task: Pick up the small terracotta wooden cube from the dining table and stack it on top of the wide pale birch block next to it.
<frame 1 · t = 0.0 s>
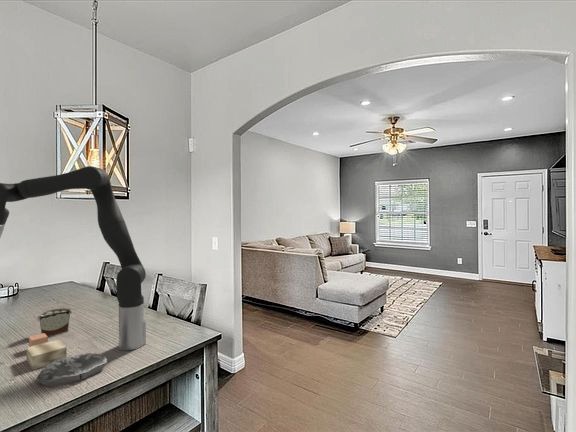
birch block: (46, 360, 116), on the table
food container: (53, 333, 140), on the table
terracotta cube: (38, 349, 124), on the table
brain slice: (72, 374, 108), on the table
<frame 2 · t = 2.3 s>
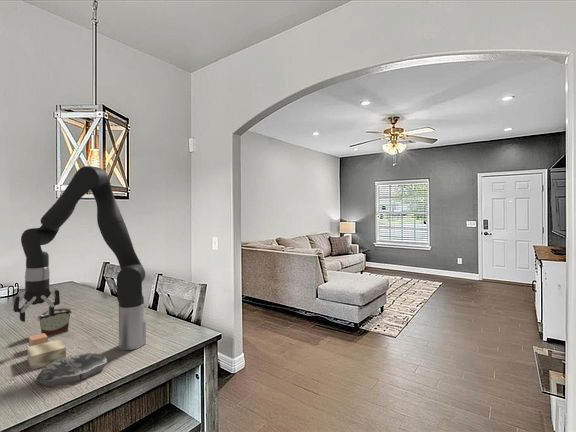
hand: (37, 318, 124), 12 cm above the table, tool pointing down, fingers open, 8 cm apart
nothing on the table moved.
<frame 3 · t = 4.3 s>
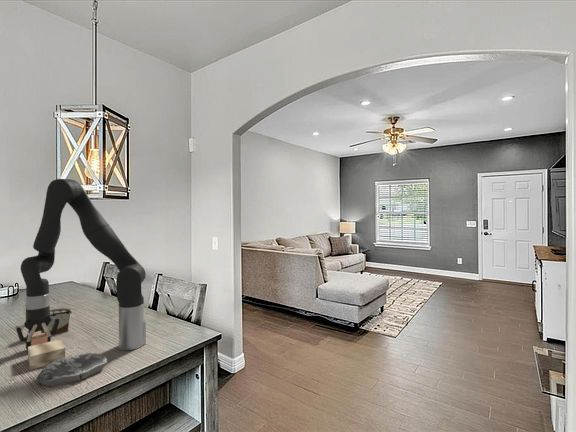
hand: (38, 347, 124), 0 cm above the table, tool pointing down, fingers closed on terracotta cube, 5 cm apart
terracotta cube: (38, 348, 124), on the table, touching gripper
everything else where it was.
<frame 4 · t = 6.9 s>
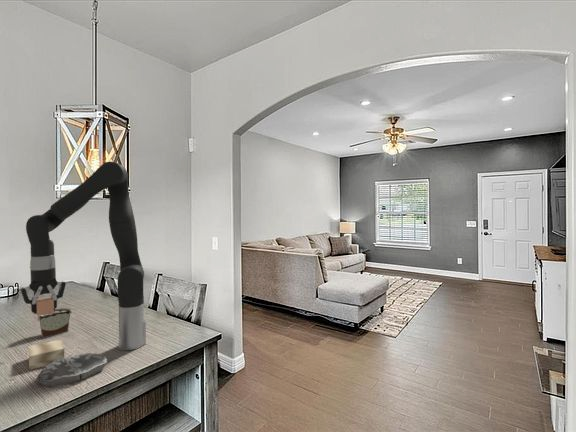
hand: (44, 311, 119), 17 cm above the table, tool pointing down, fingers closed on terracotta cube, 5 cm apart
terracotta cube: (44, 312, 119), point 16 cm above the table, touching gripper
everything else where it was.
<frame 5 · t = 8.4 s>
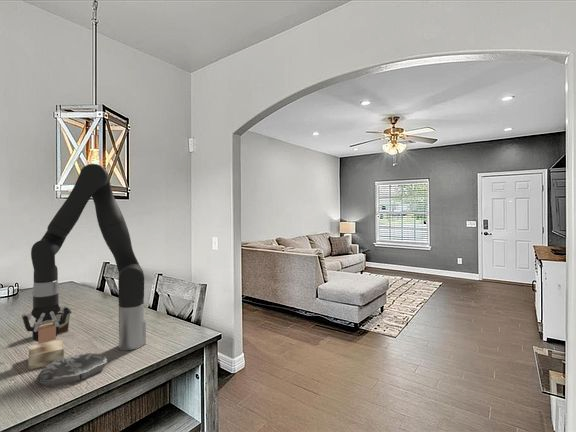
hand: (46, 338, 116), 8 cm above the table, tool pointing down, fingers closed on terracotta cube, 5 cm apart
terracotta cube: (45, 339, 116), point 8 cm above the table, touching gripper
everything else where it was.
when the fingers open (7 cm above the table, at t = 9.4 s): terracotta cube drops 2 cm, point 5 cm above the table.
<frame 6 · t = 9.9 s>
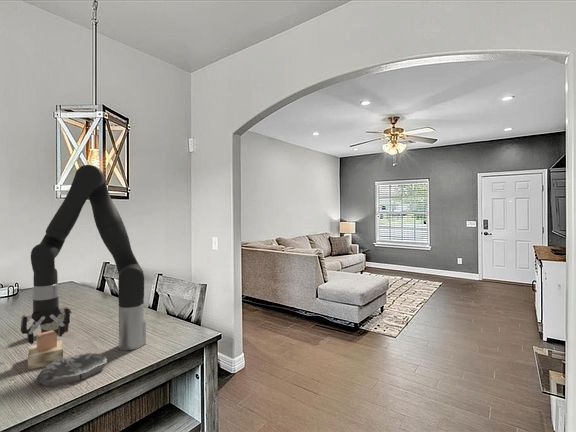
hand: (46, 339, 116), 8 cm above the table, tool pointing down, fingers open, 8 cm apart
terracotta cube: (46, 347, 116), point 5 cm above the table
everything else where it was.
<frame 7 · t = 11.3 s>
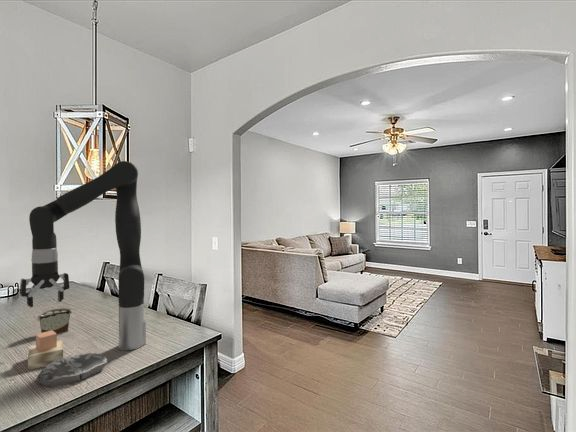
hand: (46, 304, 115), 21 cm above the table, tool pointing down, fingers open, 8 cm apart
nothing on the table moved.
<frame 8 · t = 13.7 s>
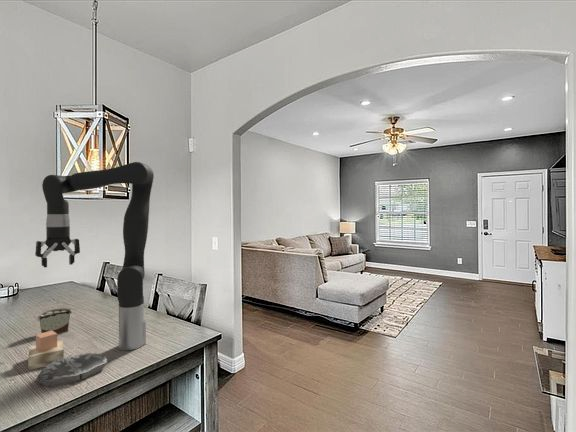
hand: (58, 265, 125), 33 cm above the table, tool pointing down, fingers open, 8 cm apart
birch block: (46, 361, 116), on the table, touching terracotta cube
terracotta cube: (46, 347, 116), point 5 cm above the table, touching birch block
everything else where it was.
at the end: terracotta cube 0.4 cm off-centre on the birch block, point 5.0 cm above the birch block's base; terracotta cube tilted 0°; terracotta cube touching birch block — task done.
